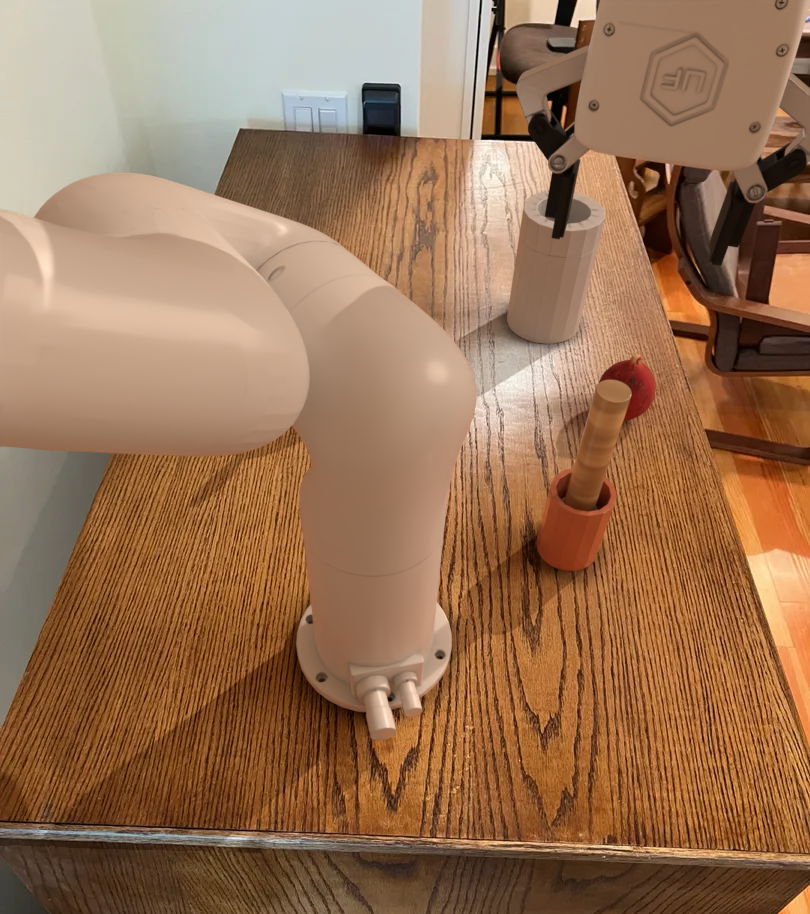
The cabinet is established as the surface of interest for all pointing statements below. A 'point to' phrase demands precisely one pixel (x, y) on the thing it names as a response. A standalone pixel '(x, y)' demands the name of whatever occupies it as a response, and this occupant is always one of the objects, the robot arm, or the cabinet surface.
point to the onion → (634, 384)
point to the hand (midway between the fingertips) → (636, 241)
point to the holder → (573, 526)
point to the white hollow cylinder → (553, 270)
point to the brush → (597, 444)
